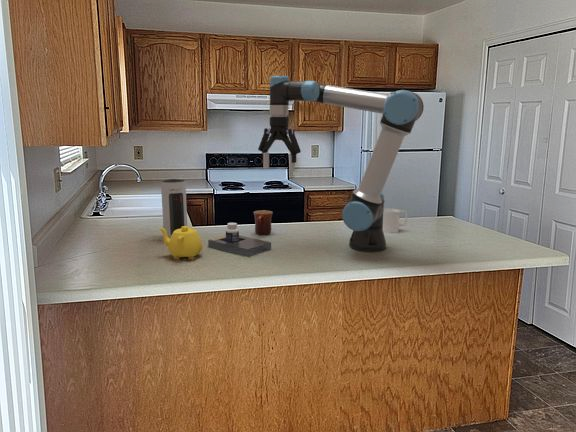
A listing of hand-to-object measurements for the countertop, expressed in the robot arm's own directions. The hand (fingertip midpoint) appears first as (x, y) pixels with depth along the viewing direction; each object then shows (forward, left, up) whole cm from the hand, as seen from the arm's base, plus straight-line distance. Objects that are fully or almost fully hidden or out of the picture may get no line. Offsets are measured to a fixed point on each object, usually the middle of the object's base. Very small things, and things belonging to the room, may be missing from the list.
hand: (278, 169), depth 197 cm
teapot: (+18, +37, -32) cm, 52 cm away
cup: (-25, -56, -32) cm, 69 cm away
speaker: (+41, +21, -32) cm, 56 cm away
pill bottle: (+13, +14, -32) cm, 37 cm away
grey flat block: (+9, +14, -32) cm, 36 cm away
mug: (+17, -9, -32) cm, 37 cm away
